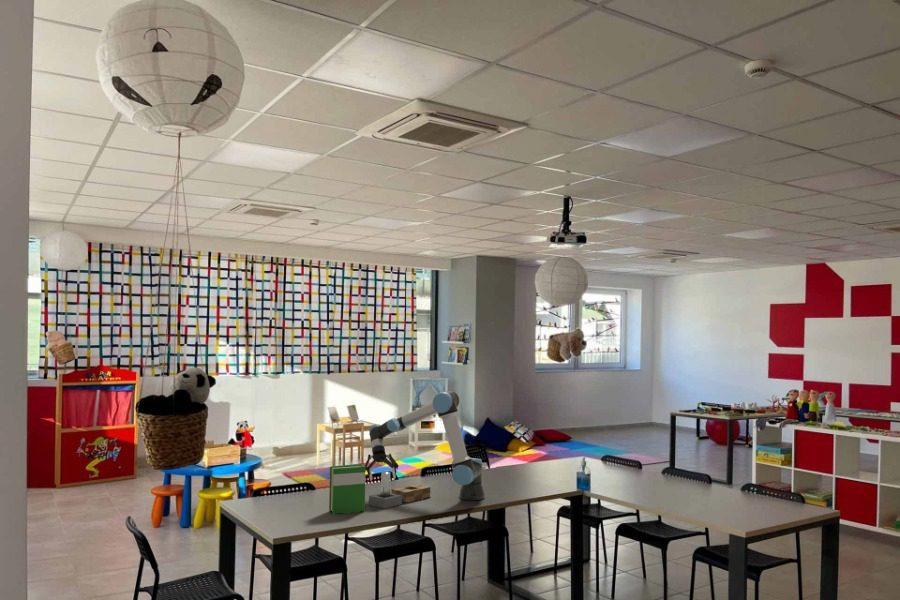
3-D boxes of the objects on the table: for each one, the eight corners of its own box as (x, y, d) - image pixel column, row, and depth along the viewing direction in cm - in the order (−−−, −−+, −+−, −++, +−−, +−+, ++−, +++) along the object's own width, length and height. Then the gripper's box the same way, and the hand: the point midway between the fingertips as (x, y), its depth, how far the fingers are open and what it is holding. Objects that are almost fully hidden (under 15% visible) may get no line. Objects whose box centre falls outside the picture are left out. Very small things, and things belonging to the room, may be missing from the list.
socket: (401, 504, 385) (401, 495, 385) (384, 508, 375) (384, 499, 376) (386, 501, 394) (386, 492, 394) (368, 504, 384) (369, 495, 385)
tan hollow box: (430, 497, 404) (430, 487, 404) (405, 503, 389) (405, 492, 390) (415, 494, 412) (416, 484, 412) (391, 499, 397) (391, 489, 398)
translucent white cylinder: (391, 504, 385) (392, 472, 386) (385, 506, 381) (385, 473, 382) (385, 503, 388) (386, 471, 389) (379, 504, 385) (379, 472, 386)
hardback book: (332, 514, 361) (333, 468, 363) (329, 511, 368) (330, 466, 370) (364, 511, 369) (365, 466, 370) (360, 508, 375) (361, 464, 377)
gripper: (397, 451, 412) (403, 481, 397) (356, 453, 404) (360, 483, 389) (399, 443, 407) (405, 474, 392) (358, 445, 400) (362, 476, 385)
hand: (383, 479), depth 391 cm, fingers open, 13 cm apart
